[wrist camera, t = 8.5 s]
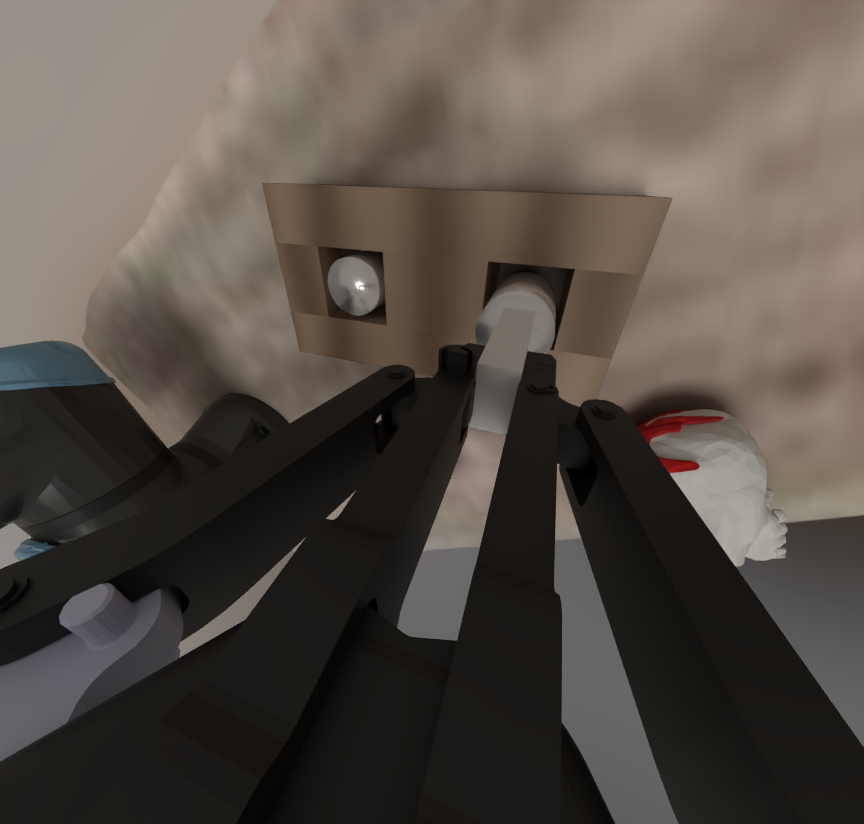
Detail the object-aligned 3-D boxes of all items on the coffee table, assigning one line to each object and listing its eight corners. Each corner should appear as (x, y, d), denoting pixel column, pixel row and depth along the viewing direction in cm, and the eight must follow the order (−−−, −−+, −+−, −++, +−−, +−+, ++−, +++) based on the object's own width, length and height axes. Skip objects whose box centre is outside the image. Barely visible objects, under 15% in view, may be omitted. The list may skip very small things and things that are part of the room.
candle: (750, 506, 29) (570, 468, 35) (820, 398, 23) (586, 375, 29) (790, 604, 22) (558, 536, 28) (903, 489, 16) (576, 434, 22)
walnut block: (337, 328, 33) (299, 351, 28) (316, 184, 26) (262, 183, 21) (588, 367, 27) (593, 405, 22) (646, 195, 20) (672, 197, 16)
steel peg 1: (365, 293, 29) (332, 312, 25) (361, 244, 27) (323, 255, 23) (407, 299, 28) (379, 318, 24) (406, 248, 26) (375, 259, 22)
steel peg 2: (488, 330, 23) (471, 363, 18) (497, 268, 20) (479, 290, 16) (548, 338, 22) (544, 375, 17) (563, 274, 19) (564, 299, 15)
